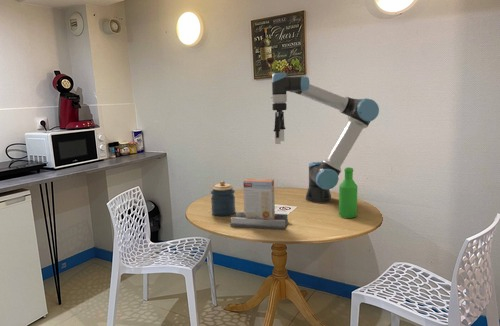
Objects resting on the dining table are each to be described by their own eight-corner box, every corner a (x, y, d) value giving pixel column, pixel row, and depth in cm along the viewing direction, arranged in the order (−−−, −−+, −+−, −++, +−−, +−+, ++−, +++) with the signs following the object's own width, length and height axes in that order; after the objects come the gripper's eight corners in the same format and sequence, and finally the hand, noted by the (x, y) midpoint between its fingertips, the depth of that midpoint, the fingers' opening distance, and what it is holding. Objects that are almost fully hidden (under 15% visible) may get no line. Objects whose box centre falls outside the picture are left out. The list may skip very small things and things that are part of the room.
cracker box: (275, 220, 169) (274, 179, 165) (272, 224, 163) (271, 181, 159) (247, 218, 173) (246, 177, 169) (244, 222, 167) (243, 180, 163)
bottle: (347, 219, 170) (348, 170, 166) (335, 215, 178) (336, 167, 173) (360, 216, 174) (361, 168, 170) (348, 212, 182) (349, 165, 177)
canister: (207, 215, 183) (205, 183, 180) (217, 208, 195) (216, 177, 192) (229, 217, 178) (228, 184, 175) (239, 210, 190) (238, 179, 187)
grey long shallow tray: (287, 221, 170) (287, 213, 170) (284, 229, 159) (284, 221, 158) (237, 218, 176) (237, 210, 176) (230, 226, 165) (230, 218, 164)
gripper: (276, 102, 196) (276, 140, 200) (268, 103, 172) (268, 145, 176) (289, 102, 194) (289, 140, 198) (283, 102, 170) (283, 145, 174)
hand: (279, 142), depth 187 cm, fingers open, 13 cm apart
